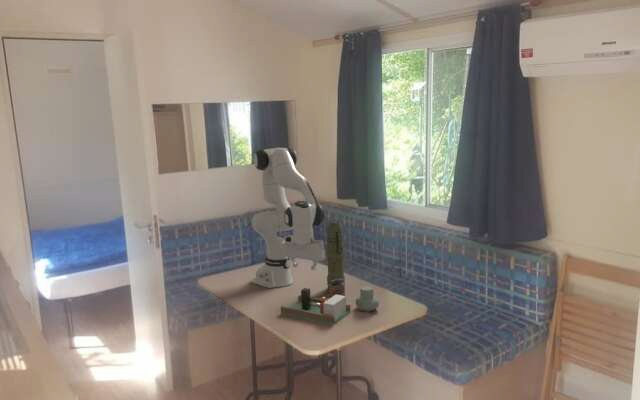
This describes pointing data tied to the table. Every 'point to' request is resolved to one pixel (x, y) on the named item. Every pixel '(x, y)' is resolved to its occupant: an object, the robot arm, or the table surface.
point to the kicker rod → (307, 302)
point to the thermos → (335, 252)
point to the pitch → (332, 310)
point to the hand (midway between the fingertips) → (304, 268)
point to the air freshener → (366, 299)
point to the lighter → (336, 288)
